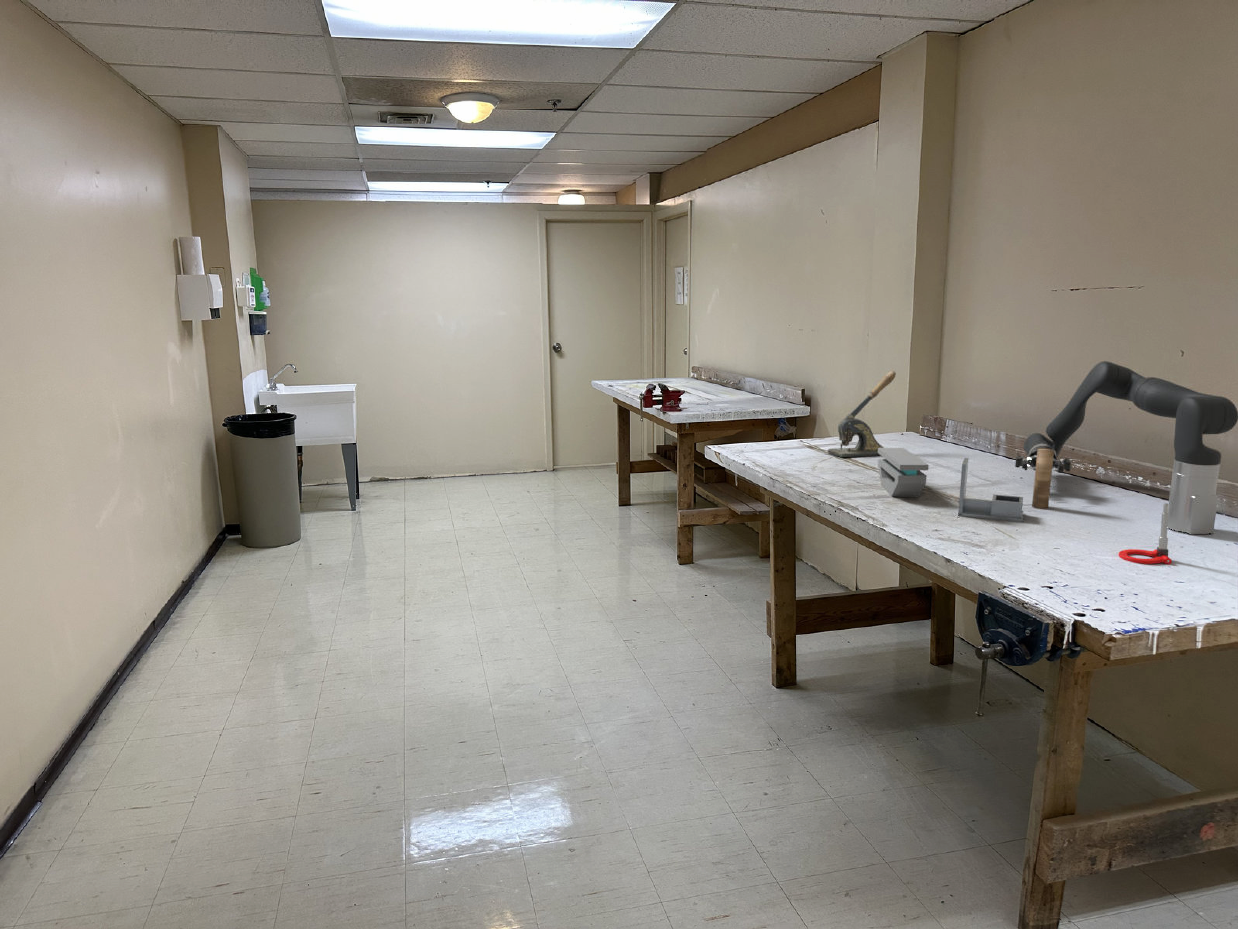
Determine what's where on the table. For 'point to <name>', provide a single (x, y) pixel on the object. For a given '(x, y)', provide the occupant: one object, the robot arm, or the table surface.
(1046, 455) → the tan wooden cylinder
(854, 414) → the embossing press
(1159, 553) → the tow hook
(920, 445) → the table surface
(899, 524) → the table surface
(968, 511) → the bracket
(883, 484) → the grey lidded box
